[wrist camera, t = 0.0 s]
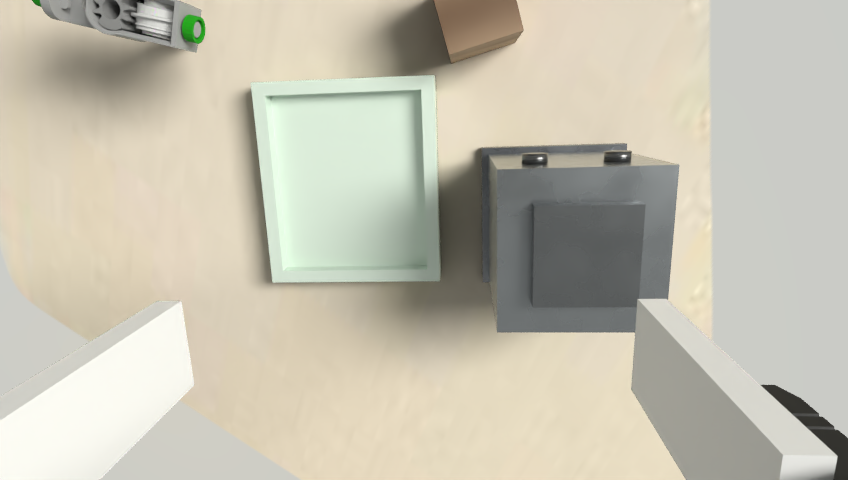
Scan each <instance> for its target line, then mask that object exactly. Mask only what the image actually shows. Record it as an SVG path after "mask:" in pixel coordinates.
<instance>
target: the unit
mask: <svg viewBox="0 0 848 480" xmlns="http://www.w3.org/2000/svg"><path fill="white" fill-rule="evenodd" d="M678 174H679V165H678V164H674V163H670V162H666V161H661V160H657V159H653V158H649V157H644V156H640V155H636V154H632V151H628V150H627V144H625V143H615V144H581V145H546V146H512V147H482V279H483V282H490V288H491V294H492V301H493V308H494V315H495V322H496V328H497V332H635V328H636V314H637V299H667V300H668V293H669V281H670V269H671V257H672V245H673V234H674V222H675V210H676V198H677V186H678Z"/></svg>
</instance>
